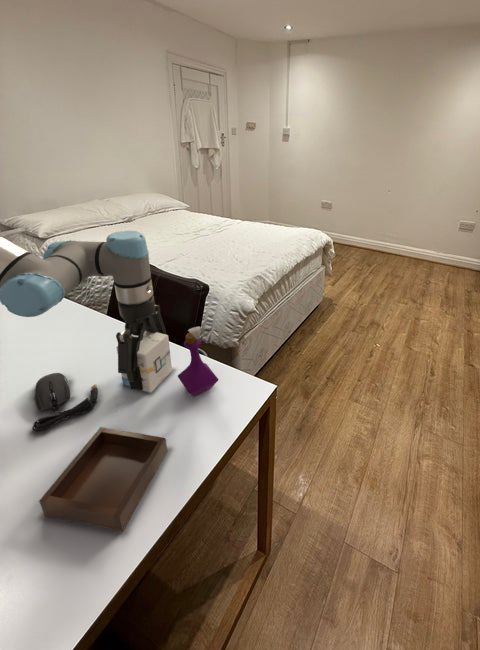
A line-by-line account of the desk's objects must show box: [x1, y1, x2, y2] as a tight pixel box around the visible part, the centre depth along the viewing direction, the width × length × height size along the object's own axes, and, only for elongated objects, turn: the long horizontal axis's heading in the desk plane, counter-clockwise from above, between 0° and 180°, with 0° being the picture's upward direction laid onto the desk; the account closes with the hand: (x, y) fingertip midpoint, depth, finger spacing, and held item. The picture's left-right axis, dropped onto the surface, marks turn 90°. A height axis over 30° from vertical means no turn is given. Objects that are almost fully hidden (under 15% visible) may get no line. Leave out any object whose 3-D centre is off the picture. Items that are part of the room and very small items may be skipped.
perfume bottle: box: [177, 326, 219, 397], centre depth 77 cm, size 8×8×18 cm
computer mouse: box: [31, 372, 99, 432], centre depth 75 cm, size 12×18×4 cm
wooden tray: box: [38, 426, 168, 532], centre depth 58 cm, size 14×14×4 cm
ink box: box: [116, 331, 173, 394], centre depth 81 cm, size 9×8×12 cm
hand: (148, 374), depth 82 cm, fingers closed on ink box, 9 cm apart
